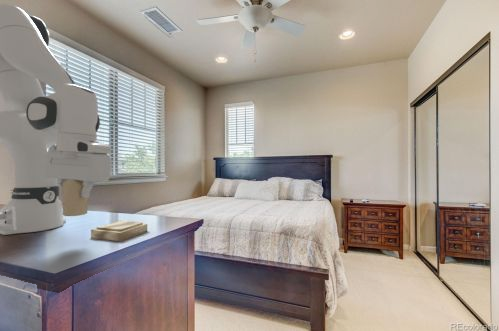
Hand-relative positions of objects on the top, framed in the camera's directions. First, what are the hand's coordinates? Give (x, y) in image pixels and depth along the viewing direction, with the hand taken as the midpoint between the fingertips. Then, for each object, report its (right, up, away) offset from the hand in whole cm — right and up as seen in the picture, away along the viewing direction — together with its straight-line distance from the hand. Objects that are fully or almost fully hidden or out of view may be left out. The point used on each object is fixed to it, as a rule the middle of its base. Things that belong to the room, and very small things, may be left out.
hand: (74, 196), depth 67 cm
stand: (+7, -13, +10) cm, 18 cm away
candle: (0, -5, 0) cm, 5 cm away
